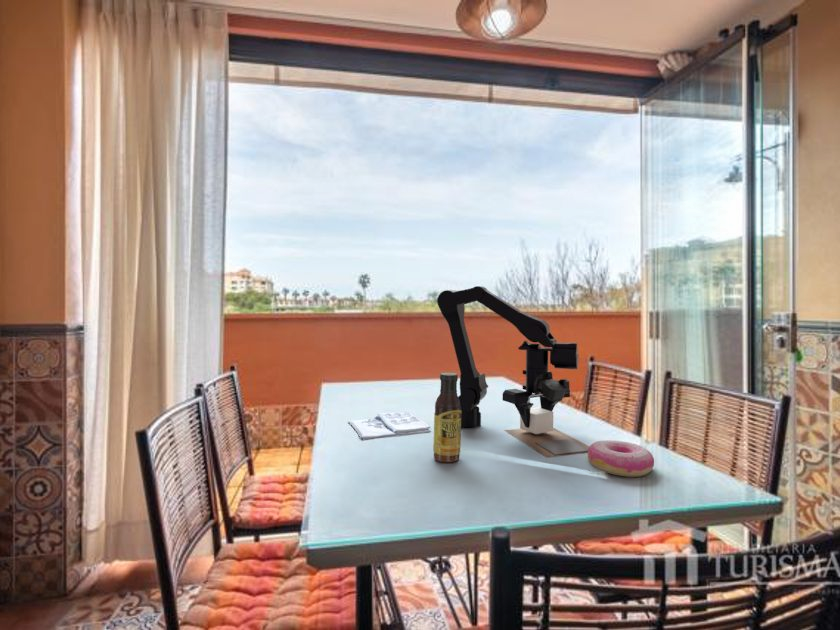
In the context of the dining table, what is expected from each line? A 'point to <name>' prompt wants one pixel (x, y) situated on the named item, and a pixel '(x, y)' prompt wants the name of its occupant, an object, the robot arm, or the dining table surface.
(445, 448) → the sauce bottle
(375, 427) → the open sketchbook
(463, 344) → the robot arm
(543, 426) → the off-white cube box
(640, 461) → the donut
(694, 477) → the dining table surface
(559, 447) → the post stand
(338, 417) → the dining table surface
